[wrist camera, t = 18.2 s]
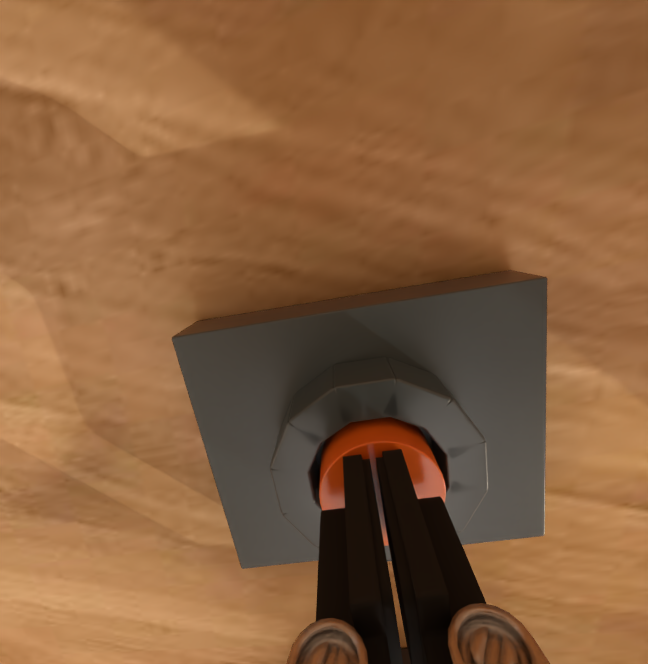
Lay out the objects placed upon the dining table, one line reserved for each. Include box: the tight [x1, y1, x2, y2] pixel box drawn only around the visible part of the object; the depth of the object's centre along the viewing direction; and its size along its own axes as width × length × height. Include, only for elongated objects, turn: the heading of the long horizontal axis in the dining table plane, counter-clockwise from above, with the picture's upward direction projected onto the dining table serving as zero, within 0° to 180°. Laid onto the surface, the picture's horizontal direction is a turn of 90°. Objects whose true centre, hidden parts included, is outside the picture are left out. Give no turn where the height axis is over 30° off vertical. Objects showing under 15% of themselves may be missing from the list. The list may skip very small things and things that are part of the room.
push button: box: [319, 417, 446, 546], centre depth 10 cm, size 4×4×2 cm
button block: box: [172, 270, 547, 569], centre depth 12 cm, size 12×10×4 cm
